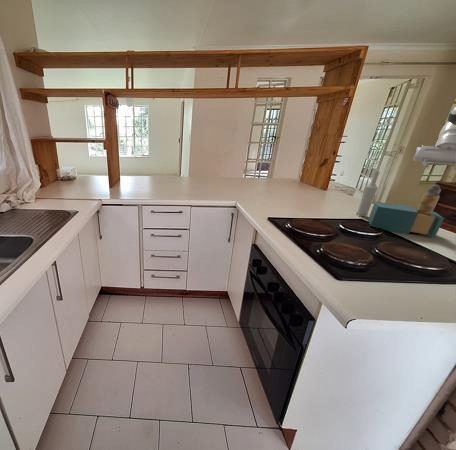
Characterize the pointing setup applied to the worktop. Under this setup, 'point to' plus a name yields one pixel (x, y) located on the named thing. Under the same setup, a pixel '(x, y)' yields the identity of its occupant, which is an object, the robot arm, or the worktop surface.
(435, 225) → the drawer
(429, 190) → the pepper mill
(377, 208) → the cabinet
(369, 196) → the bottle
